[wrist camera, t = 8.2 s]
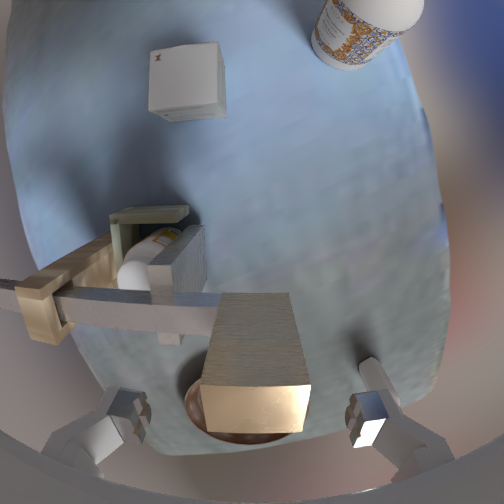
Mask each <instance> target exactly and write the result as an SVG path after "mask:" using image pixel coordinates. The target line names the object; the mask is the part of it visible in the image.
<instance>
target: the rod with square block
mask: <svg viewBox="0 0 504 504" xmlns="http://www.w3.org/2000/svg"><path fill="white" fill-rule="evenodd" d="M147 269H148V277H149V285H150V291H148V290H129V289H112V288H97V287H83V286H70V285H63V286H61V287H60V288H59V289H57V290H56V291H54V292H53V293H52V296H53V299H54V303H55V307H56V310H57V314H58V317H59V320H61V321H67V322H73V323H80V324H87V325H94V326H101V327H109V328H117V329H126V330H136V331H146V332H157V334H158V339H159V344H167V345H180V346H181V343H182V340H183V338H184V335H185V334H186V335H205V336H211V338H210V342H209V347H208V351H207V355H206V359H205V363H204V367H203V372H202V376H201V380H200V391H201V397H202V403H203V409H204V415H205V421H206V426H207V431H209V432H224V433H290V432H302V428H303V423H304V418H305V413H306V408H307V403H308V398H309V393H310V388H311V383H310V379H309V374H308V370H307V366H306V362H305V357H304V353H303V349H302V345H301V341H300V337H299V333H298V329H297V325H296V321H295V317H294V313H293V309H292V305H291V301H290V297H289V293H225V292H222V293H204V292H202V290H203V287H204V285H205V283H206V280H207V270H206V250H205V225H189V226H188V227H187V228H186V229H184V230H183V231H182V232H181V233H180V234H179V235H178V236H177V237H176V238H175V239H174V240H173V241H172V242H170V243H169V244H168V245H167V246H166V247H165V248H164V249H163V250H162V251H161V252H160V253H159V254H158V255H157V256H156V257H155V258H154V259H153V260H152V261H151V262H150V263H149V264H148V265H147ZM20 282H22V281H18V280H9V279H1V278H0V308H3V309H7V310H11V311H16V312H20V313H22V312H21V309H20V305H19V302H18V299H17V295H16V292H15V288H14V286H15V285H17V284H19V283H20Z"/></svg>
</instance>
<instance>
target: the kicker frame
mask: <svg viewBox="0 0 504 504" xmlns="http://www.w3.org/2000/svg"><path fill="white" fill-rule="evenodd" d="M188 214H189V205H160V206H137V207H128V208H125V209H123V210H120V211H117V212H115V213H112V214H109V216H110V227H111V232H108V233H106V234H104V235H102V236H100V237H99V238H97V239H95V240H93V241H91V242H89V243H87V244H85V245H83V246H82V247H80V248H78V249H76V250H74V251H73V252H71V253H69V254H67V255H65V256H64V257H62V258H60V259H58V260H57V261H55V262H53V263H51V264H50V265H48V266H46V267H45V268H43V269H41V270H40V271H38V272H37V273H35V274H33V275H31V276H30V277H28V278H27V279H25V280H23V281H22V282H20V283H19V284H17V285H15V286H14V288H15V292H16V295H17V299H18V302H19V305H20V309H21V312H22V315H23V318H24V321H25V324H26V327H27V329H28V332H29V335H30V338H31V339H33V340H36V341H40V342H44V343H48V344H52V345H58V344H59V343H60V342H61V341H62V340H63V339H64V338H65V337H66V336H67V334H68V333H69V332H70V331H71V330H72V329H73V328H74V327H75V326H76V325H77V324H78V323H73V322H67V321H61V320H59V317H58V314H57V310H56V307H55V303H54V299H53V296H52V293H53V292H54V291H56V290H57V289H59V288H60V287H61V286H63V285H70V286H83V287H97V288H112V289H113V288H115V287H116V286H117V285H118V283H117V274H118V271H119V269H120V267H121V266H122V265H123V262H124V258H125V256H126V254H127V252H128V251H129V250H130V249H131V248H132V247H133V246H134V245H136V244H137V243H139V242H140V231H139V224H149V223H178V222H179V221H180V220H182V219H183V218H184V217H186V216H187V215H188Z"/></svg>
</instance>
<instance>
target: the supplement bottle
mask: <svg viewBox="0 0 504 504" xmlns="http://www.w3.org/2000/svg"><path fill="white" fill-rule="evenodd" d="M180 233H181V231H180V230H178V229H176V228H172V227H163V228H160V229H158V230H156V231H154V232H153V233H151V234H150V235H149V236H147V237H146V238H144V239H143V240H141V241H140V242H139V243H137V244H136V245H134V246H133V247H132V248H131V249H130V250H129V251H128V252H127V254H126V256H125V258H124V262H123V265H122V266H121V267H120V269H119V271H118V274H117V283H118V287H119V289H129V290H148V291H150V285H149V277H148V269H147V265H148V264H149V263H150V262H151V261H152V260H153V259H154V258H155V257H156V256H157V255H158V254H159V253H160V252H161V251H162V250H163V249H164V248H165V247H166V246H167V245H168V244H169V243H170V242H172V241H173V240H174V239H175V238H176V237H177V236H178V235H179V234H180Z"/></svg>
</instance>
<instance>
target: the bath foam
mask: <svg viewBox="0 0 504 504" xmlns="http://www.w3.org/2000/svg"><path fill="white" fill-rule="evenodd" d="M423 7H424V0H327V1H326V3H325V5H324V7H323V9H322V12H321V14H320V16H319V18H318V20H317V22H316V25H315V27H314V30H313V32H312V35H311V43H312V47H313V49H314V51H315V53H316V54H317V55H318V57H319V58H320V59H321V60H322V61H324V62H325V63H326V64H328V65H330V66H331V67H334V68H336V69H340V70H346V71H350V70H356V69H359V68H361V67H363V66H364V65H366V64H367V63H368V62H369V61H371V60H372V59H373V58H374V57H375V56H377V55H378V54H379V53H380V52H381V51H383V50H384V49H385V48H386V47H387V46H389V45H390V44H391V43H392V42H394V41H395V40H396V39H397V38H399V37H400V36H401V35H403V34H404V33H405V32H406V31H408V30H409V29H410V28H412V26H413V25H414V24H415V23H416V22H417V20H418V19H419V17H420V16H421V13H422V11H423Z"/></svg>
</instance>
